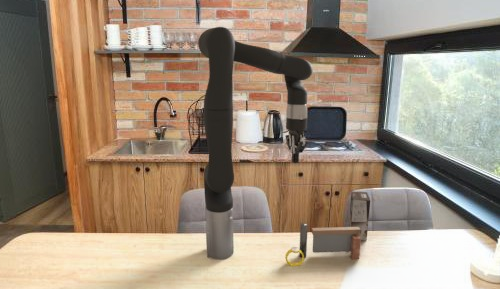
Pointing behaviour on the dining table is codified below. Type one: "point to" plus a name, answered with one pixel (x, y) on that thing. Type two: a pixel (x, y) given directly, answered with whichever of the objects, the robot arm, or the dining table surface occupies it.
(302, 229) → the gate post
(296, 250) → the watch
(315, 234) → the gate
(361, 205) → the coffee box
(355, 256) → the block
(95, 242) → the dining table surface
